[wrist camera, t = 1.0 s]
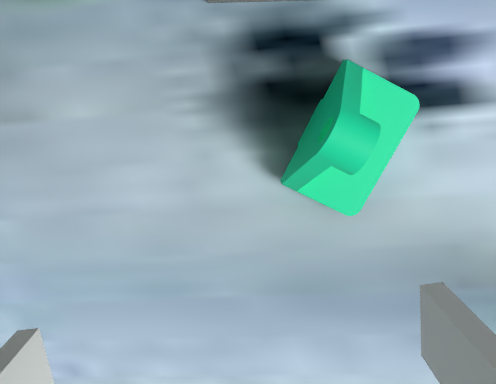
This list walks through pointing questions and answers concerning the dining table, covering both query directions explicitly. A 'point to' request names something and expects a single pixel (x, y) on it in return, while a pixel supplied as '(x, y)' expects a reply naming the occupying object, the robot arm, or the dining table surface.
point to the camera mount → (350, 139)
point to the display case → (222, 0)
